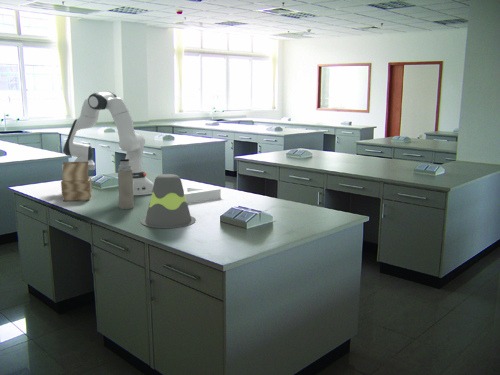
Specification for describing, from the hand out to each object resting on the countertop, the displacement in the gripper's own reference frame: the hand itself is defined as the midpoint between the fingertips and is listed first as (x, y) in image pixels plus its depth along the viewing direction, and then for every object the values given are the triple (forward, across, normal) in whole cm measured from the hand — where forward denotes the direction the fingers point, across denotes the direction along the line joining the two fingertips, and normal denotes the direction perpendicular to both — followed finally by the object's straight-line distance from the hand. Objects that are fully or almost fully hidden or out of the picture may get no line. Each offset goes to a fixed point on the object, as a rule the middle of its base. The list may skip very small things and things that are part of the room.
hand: (77, 168), depth 282 cm
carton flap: (+11, 0, 0) cm, 11 cm away
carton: (+10, 0, +17) cm, 20 cm away
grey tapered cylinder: (+74, +50, +18) cm, 91 cm away
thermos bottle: (+40, +30, +18) cm, 52 cm away
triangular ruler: (+21, +68, +19) cm, 74 cm away
